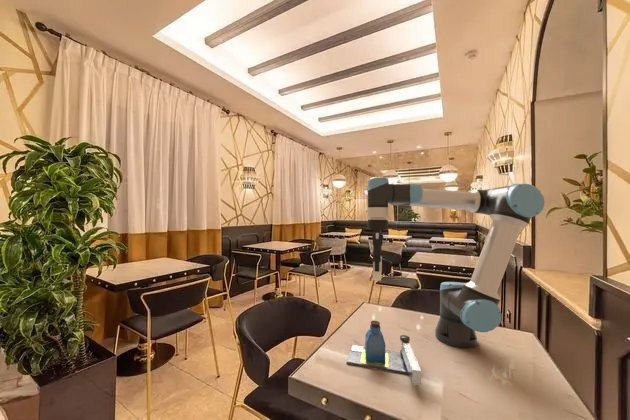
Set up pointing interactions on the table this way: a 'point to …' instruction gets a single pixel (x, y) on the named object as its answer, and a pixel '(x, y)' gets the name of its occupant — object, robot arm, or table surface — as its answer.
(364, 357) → the tray
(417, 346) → the table surface
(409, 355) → the swing arm
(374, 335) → the perfume bottle
